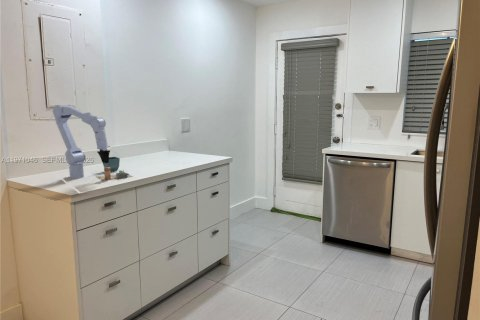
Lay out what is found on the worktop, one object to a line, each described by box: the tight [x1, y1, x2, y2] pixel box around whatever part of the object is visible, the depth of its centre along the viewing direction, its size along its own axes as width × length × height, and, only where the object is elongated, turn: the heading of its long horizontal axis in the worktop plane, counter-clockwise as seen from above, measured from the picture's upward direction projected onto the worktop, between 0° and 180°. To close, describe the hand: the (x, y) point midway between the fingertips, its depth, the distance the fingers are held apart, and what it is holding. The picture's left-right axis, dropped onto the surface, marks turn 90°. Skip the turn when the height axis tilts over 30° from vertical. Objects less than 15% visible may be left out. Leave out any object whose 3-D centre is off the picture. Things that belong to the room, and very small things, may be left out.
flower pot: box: [102, 156, 121, 173], centre depth 235 cm, size 9×9×9 cm
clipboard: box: [95, 172, 134, 182], centre depth 217 cm, size 14×18×1 cm
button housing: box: [115, 171, 129, 180], centre depth 215 cm, size 5×5×2 cm
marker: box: [103, 166, 112, 181], centre depth 209 cm, size 3×3×7 cm
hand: (105, 162), depth 207 cm, fingers open, 7 cm apart
